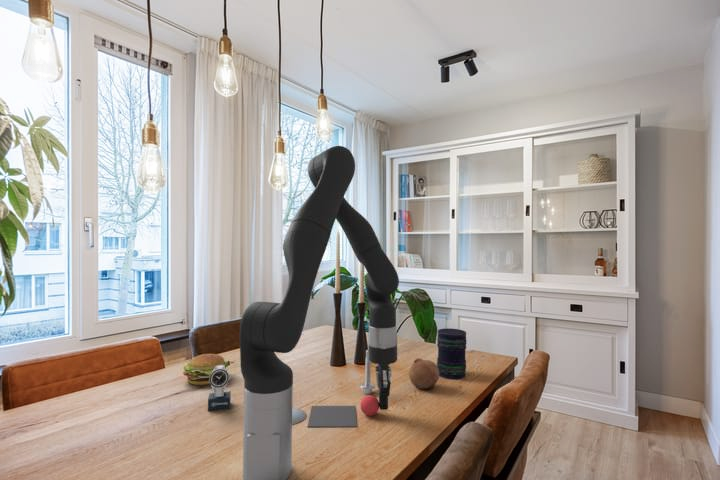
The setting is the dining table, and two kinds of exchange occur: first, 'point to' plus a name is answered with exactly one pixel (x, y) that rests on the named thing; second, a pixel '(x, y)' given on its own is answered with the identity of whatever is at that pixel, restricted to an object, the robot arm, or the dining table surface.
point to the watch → (219, 389)
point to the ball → (369, 405)
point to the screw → (367, 377)
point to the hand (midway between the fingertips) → (383, 408)
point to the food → (203, 368)
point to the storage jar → (451, 353)
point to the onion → (423, 374)
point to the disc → (297, 415)
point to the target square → (332, 416)
